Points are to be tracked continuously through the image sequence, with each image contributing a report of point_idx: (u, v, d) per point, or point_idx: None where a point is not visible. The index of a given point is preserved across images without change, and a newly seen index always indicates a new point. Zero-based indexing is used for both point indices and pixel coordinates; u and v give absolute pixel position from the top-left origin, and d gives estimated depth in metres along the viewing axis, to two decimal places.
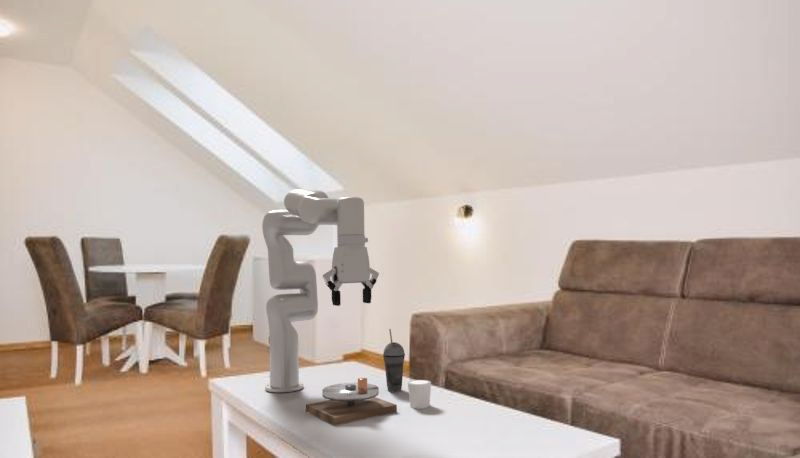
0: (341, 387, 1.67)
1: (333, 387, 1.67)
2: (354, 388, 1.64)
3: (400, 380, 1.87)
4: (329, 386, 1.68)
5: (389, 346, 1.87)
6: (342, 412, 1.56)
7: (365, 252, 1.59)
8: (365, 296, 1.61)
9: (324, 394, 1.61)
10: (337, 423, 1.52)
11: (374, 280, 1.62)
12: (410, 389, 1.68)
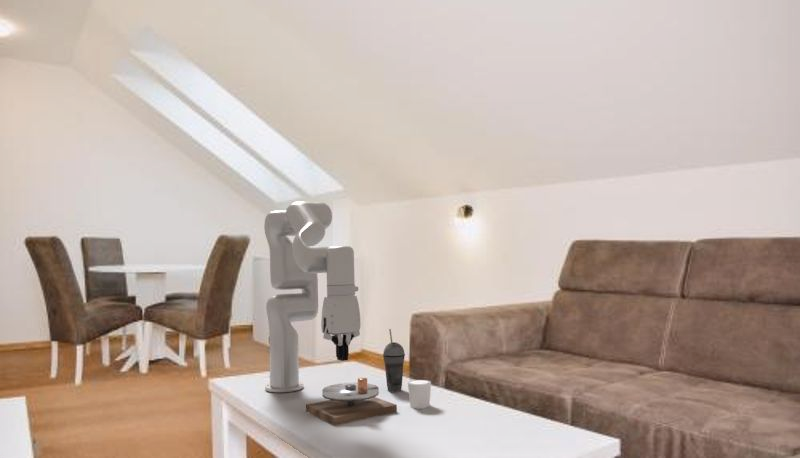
0: (341, 387, 1.67)
1: (333, 387, 1.67)
2: (354, 388, 1.64)
3: (400, 380, 1.87)
4: (329, 386, 1.68)
5: (389, 346, 1.87)
6: (342, 412, 1.56)
7: (355, 302, 1.56)
8: None
9: (324, 394, 1.61)
10: (337, 423, 1.52)
11: (351, 335, 1.56)
12: (410, 389, 1.68)
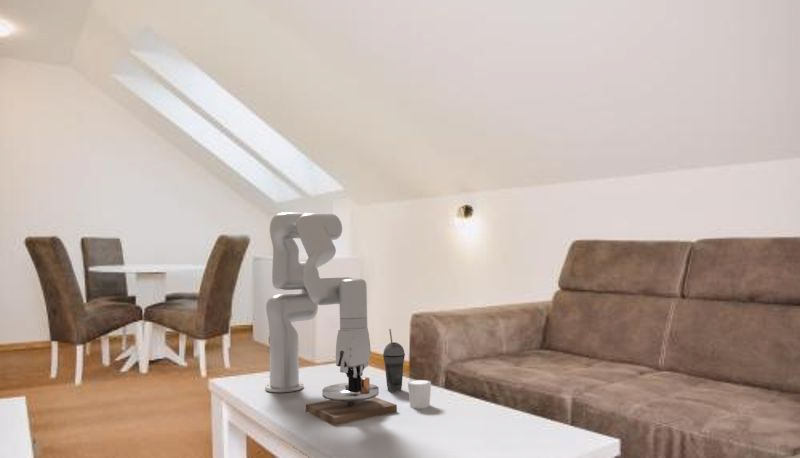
0: (340, 387, 1.66)
1: (332, 388, 1.66)
2: None
3: (400, 380, 1.87)
4: (327, 387, 1.67)
5: (389, 346, 1.87)
6: (342, 412, 1.56)
7: (367, 333, 1.59)
8: None
9: (325, 395, 1.60)
10: (337, 423, 1.52)
11: (362, 367, 1.59)
12: (410, 389, 1.68)
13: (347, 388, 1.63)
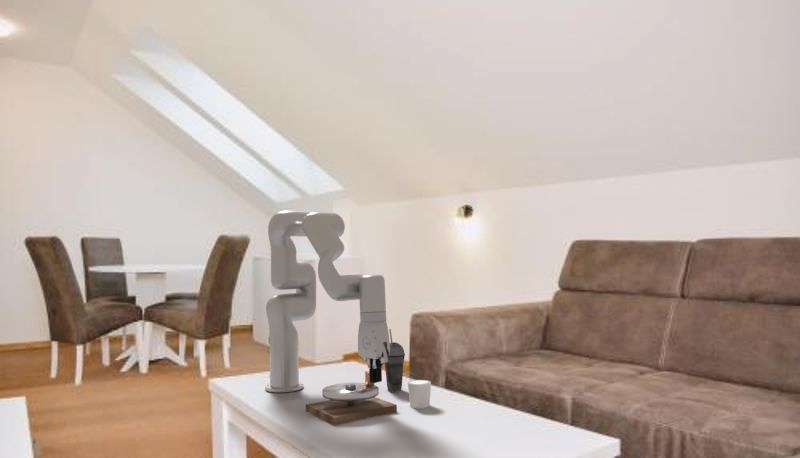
0: (342, 391, 1.62)
1: (340, 393, 1.59)
2: None
3: (400, 380, 1.87)
4: (335, 395, 1.58)
5: None
6: (342, 412, 1.56)
7: None
8: None
9: (362, 396, 1.57)
10: (337, 423, 1.52)
11: None
12: (410, 389, 1.68)
13: (354, 388, 1.64)
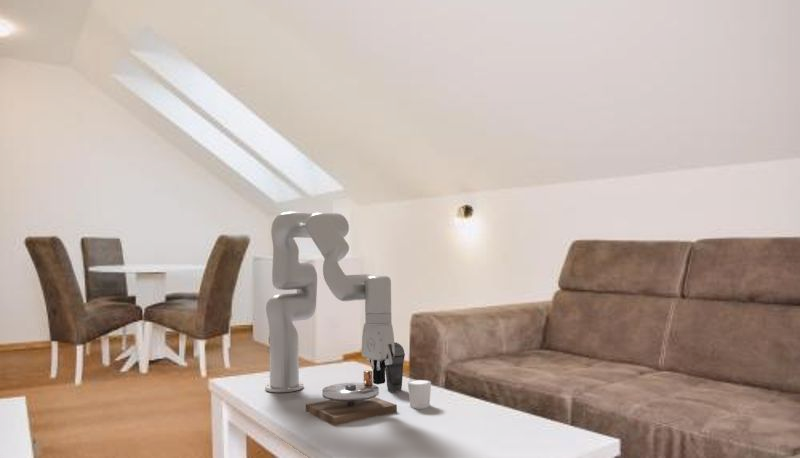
0: (343, 391, 1.61)
1: (343, 393, 1.59)
2: None
3: (400, 380, 1.87)
4: (338, 395, 1.58)
5: None
6: (342, 412, 1.56)
7: None
8: None
9: (365, 396, 1.58)
10: (337, 423, 1.52)
11: None
12: (410, 389, 1.68)
13: (354, 387, 1.64)
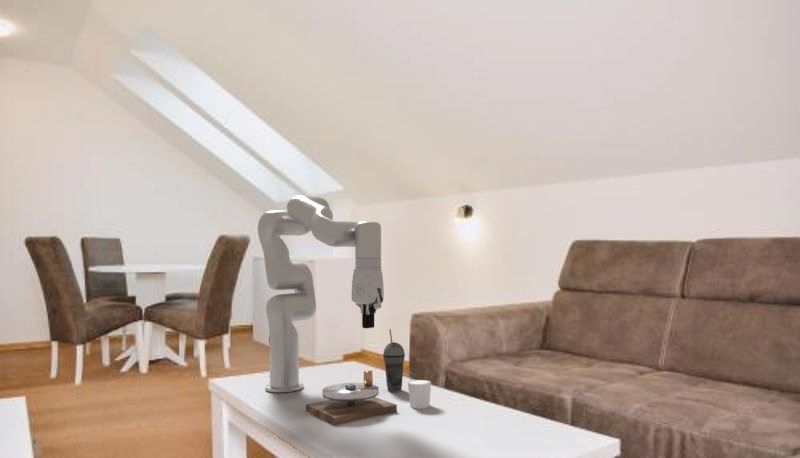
0: (343, 391, 1.61)
1: (343, 393, 1.59)
2: None
3: (400, 380, 1.87)
4: (338, 395, 1.58)
5: (389, 347, 1.87)
6: (342, 412, 1.56)
7: None
8: None
9: (365, 396, 1.58)
10: (337, 423, 1.52)
11: None
12: (410, 389, 1.68)
13: (354, 387, 1.64)
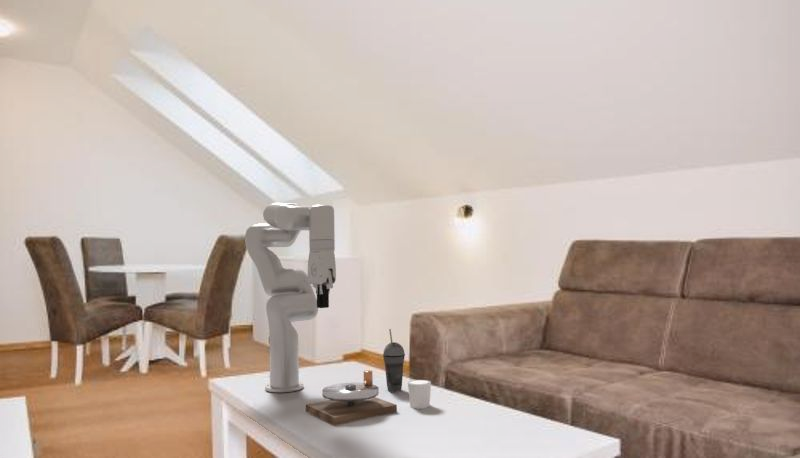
0: (343, 391, 1.61)
1: (343, 393, 1.59)
2: None
3: (400, 380, 1.87)
4: (338, 395, 1.58)
5: (389, 346, 1.87)
6: (342, 412, 1.56)
7: None
8: None
9: (365, 396, 1.58)
10: (337, 423, 1.52)
11: None
12: (410, 389, 1.68)
13: (354, 387, 1.64)
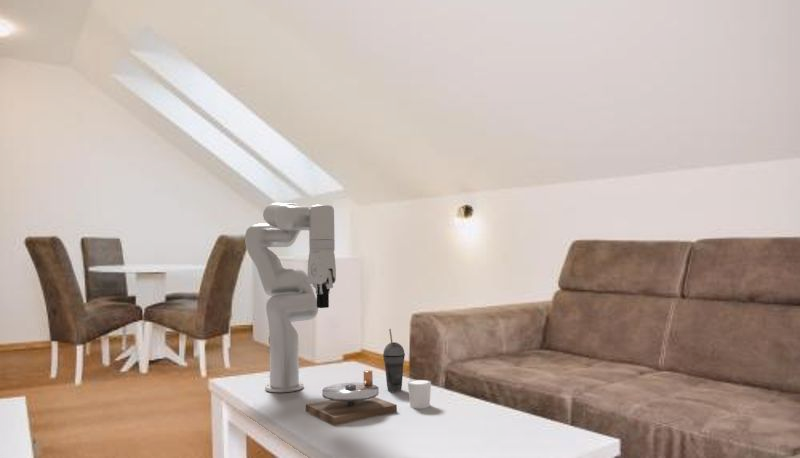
0: (343, 391, 1.61)
1: (343, 393, 1.59)
2: None
3: (400, 380, 1.87)
4: (338, 395, 1.58)
5: (389, 346, 1.87)
6: (342, 412, 1.56)
7: None
8: None
9: (365, 396, 1.58)
10: (337, 423, 1.52)
11: None
12: (410, 389, 1.68)
13: (354, 387, 1.64)
